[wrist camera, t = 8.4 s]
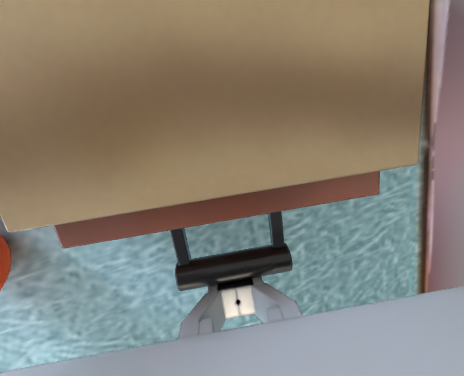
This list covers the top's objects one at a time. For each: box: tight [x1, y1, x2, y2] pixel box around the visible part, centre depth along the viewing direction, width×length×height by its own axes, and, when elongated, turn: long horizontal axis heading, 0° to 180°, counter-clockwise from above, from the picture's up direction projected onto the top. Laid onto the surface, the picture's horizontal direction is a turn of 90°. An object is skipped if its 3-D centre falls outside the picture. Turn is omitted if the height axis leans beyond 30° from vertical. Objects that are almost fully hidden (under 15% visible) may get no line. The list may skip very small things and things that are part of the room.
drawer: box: [53, 171, 380, 291], centre depth 10 cm, size 19×12×7 cm, turn 9°
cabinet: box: [0, 0, 430, 232], centre depth 9 cm, size 15×13×9 cm
